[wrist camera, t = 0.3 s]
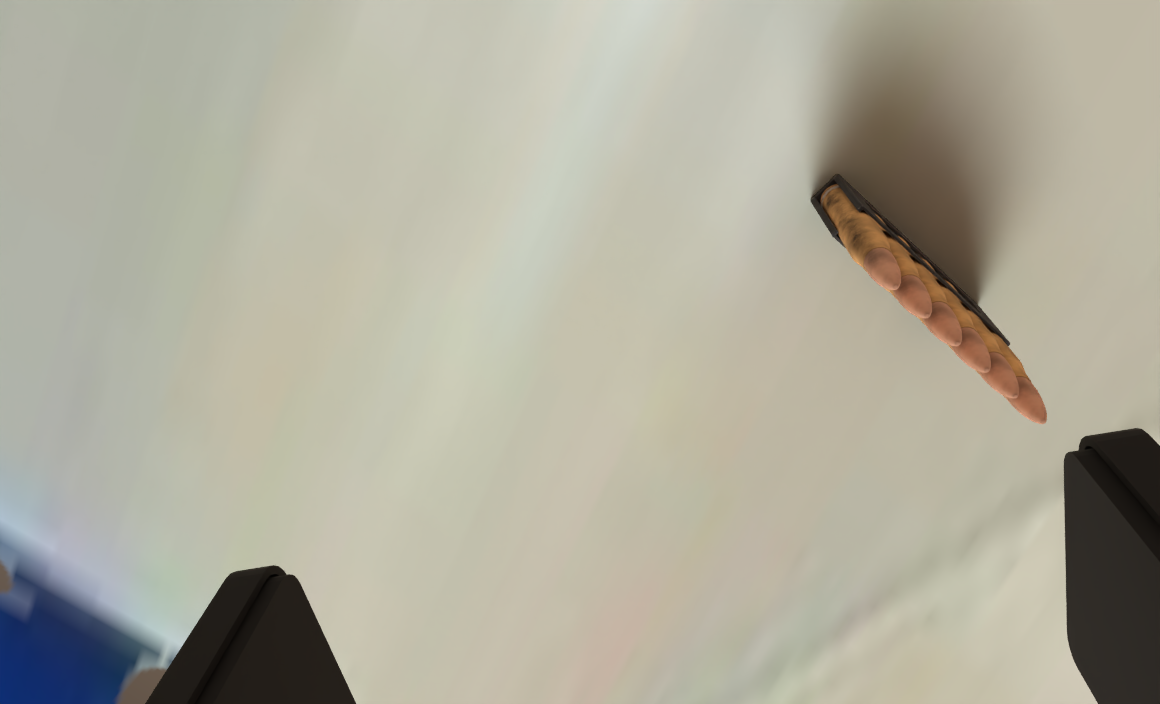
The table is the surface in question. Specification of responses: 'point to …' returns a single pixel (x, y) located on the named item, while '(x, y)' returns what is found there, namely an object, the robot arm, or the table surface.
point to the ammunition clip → (926, 293)
